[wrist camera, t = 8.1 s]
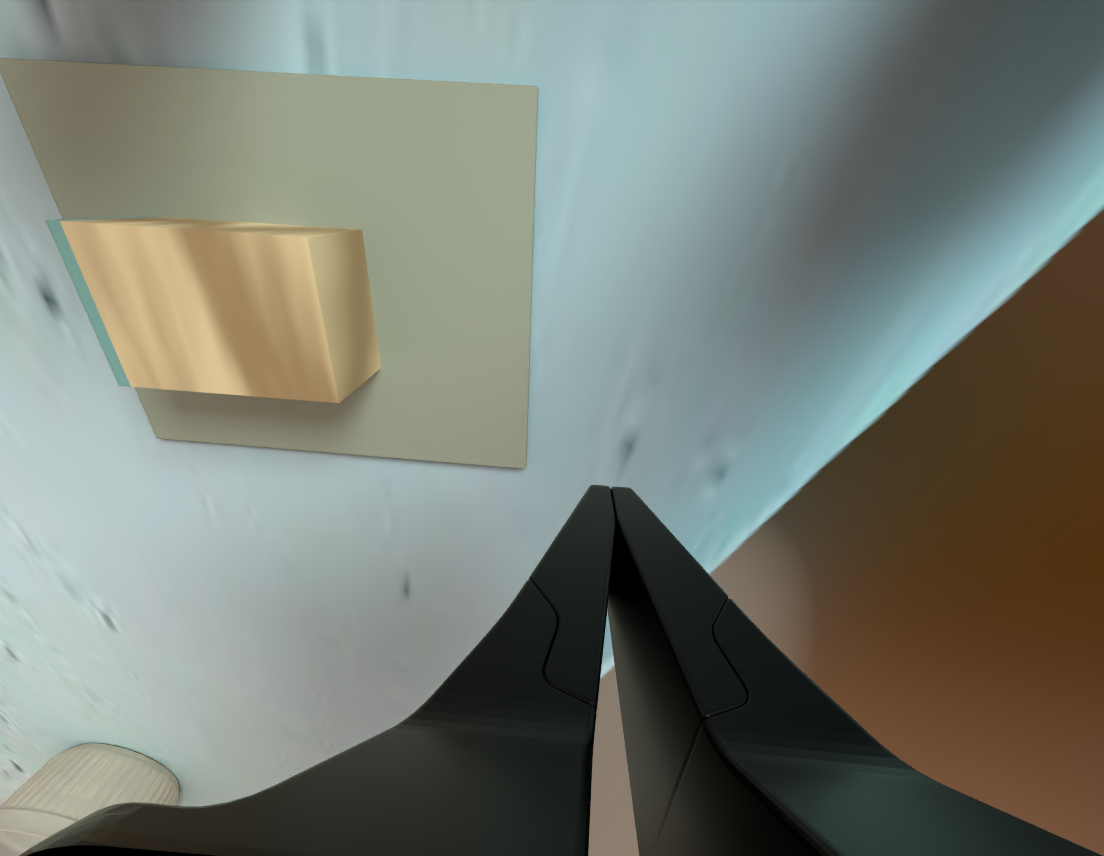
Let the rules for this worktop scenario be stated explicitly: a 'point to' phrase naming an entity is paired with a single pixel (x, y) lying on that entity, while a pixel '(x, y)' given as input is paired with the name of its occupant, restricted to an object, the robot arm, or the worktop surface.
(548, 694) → the robot arm
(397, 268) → the rubber mat
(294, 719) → the worktop surface
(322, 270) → the beech block
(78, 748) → the ramekin
